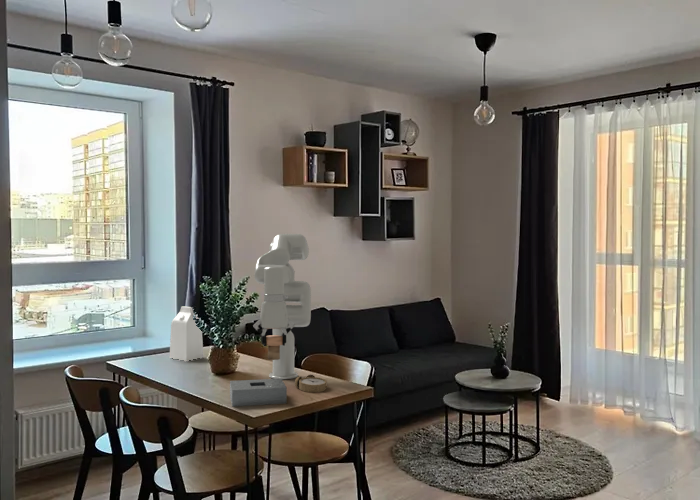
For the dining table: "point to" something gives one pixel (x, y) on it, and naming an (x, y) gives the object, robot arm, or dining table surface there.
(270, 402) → the hitch block
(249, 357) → the dining table surface
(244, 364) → the dining table surface
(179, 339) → the milk
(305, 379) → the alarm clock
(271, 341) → the peg
